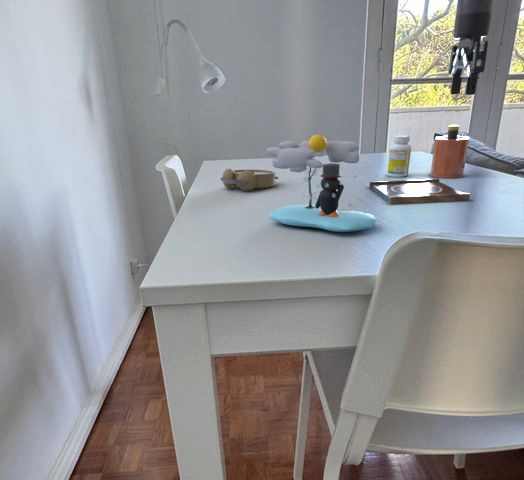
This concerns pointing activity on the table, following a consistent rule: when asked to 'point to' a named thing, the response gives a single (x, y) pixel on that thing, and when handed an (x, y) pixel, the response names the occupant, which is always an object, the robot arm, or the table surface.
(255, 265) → the table surface
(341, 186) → the penguin figurine
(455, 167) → the pen cup
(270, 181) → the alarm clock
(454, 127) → the marker
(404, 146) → the supplement bottle
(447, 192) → the brown square panel
